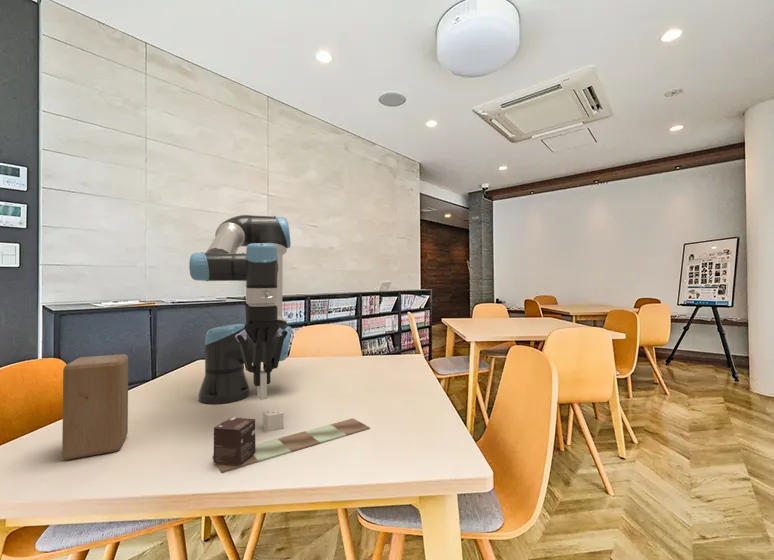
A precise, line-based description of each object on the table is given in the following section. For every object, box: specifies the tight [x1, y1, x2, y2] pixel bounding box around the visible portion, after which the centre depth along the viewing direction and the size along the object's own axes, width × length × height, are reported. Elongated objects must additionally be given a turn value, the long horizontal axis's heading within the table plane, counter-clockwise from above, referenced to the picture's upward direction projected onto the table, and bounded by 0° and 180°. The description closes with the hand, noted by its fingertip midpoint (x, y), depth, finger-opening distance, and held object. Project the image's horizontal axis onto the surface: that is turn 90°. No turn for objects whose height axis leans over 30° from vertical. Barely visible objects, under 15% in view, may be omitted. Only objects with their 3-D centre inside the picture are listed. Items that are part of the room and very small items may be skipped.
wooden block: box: [61, 353, 129, 460], centre depth 81 cm, size 10×10×20 cm
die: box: [262, 408, 285, 433], centre depth 92 cm, size 4×4×4 cm
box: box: [213, 417, 256, 465], centre depth 75 cm, size 6×6×7 cm
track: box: [212, 417, 371, 474], centre depth 83 cm, size 8×35×1 cm, turn 128°
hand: (261, 397), depth 91 cm, fingers closed
